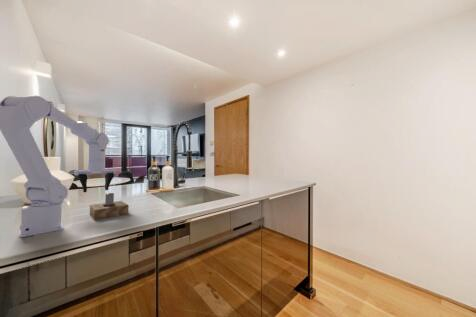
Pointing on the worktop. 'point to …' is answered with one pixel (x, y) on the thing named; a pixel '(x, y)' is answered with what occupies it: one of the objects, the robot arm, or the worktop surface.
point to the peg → (109, 199)
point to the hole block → (108, 210)
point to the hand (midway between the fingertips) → (96, 190)
